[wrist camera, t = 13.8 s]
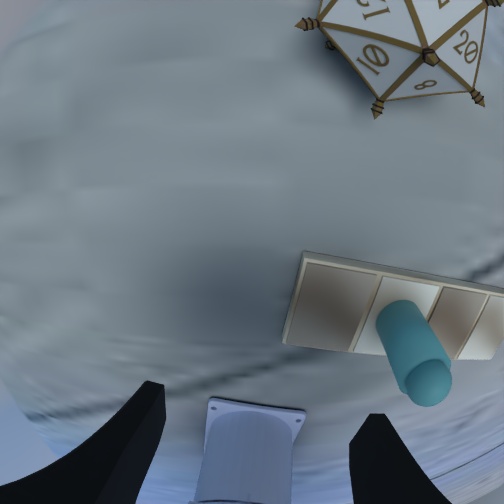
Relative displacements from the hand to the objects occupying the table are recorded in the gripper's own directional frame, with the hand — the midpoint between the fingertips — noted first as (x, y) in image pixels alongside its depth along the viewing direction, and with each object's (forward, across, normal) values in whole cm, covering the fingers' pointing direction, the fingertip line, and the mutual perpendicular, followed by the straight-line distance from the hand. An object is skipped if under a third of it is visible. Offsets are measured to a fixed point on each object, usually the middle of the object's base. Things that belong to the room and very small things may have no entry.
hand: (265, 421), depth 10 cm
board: (+10, -10, 0) cm, 14 cm away
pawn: (+9, -8, 0) cm, 12 cm away
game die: (+10, -3, -15) cm, 18 cm away
